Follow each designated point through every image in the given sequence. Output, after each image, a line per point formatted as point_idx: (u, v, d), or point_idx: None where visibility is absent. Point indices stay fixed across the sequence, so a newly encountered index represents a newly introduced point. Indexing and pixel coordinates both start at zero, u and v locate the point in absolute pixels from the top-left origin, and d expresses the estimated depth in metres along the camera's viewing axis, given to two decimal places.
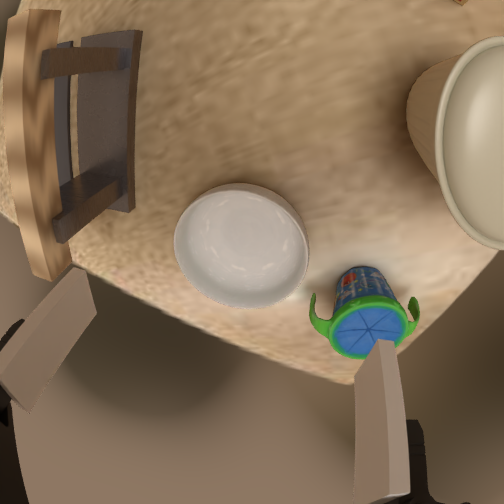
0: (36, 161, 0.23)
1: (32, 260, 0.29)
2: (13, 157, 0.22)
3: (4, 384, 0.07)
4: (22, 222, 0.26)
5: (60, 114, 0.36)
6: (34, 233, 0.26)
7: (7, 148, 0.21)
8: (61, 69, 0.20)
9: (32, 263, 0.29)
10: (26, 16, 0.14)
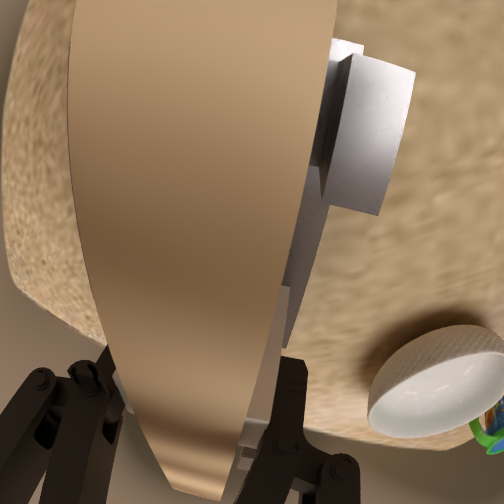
0: None
1: (181, 486, 0.16)
2: (171, 425, 0.08)
3: None
4: (175, 471, 0.13)
5: None
6: (210, 484, 0.13)
7: (137, 402, 0.08)
8: None
9: (179, 487, 0.16)
10: None
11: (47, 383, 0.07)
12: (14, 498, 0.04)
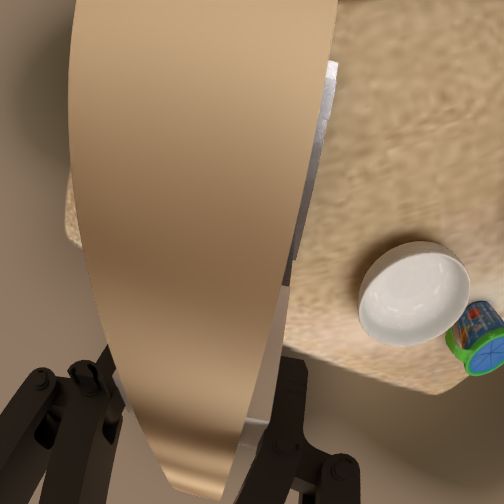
0: None
1: (181, 486, 0.16)
2: (171, 425, 0.08)
3: None
4: (175, 471, 0.13)
5: None
6: (210, 484, 0.13)
7: (137, 402, 0.08)
8: None
9: (179, 487, 0.16)
10: None
11: (47, 383, 0.07)
12: (14, 498, 0.04)
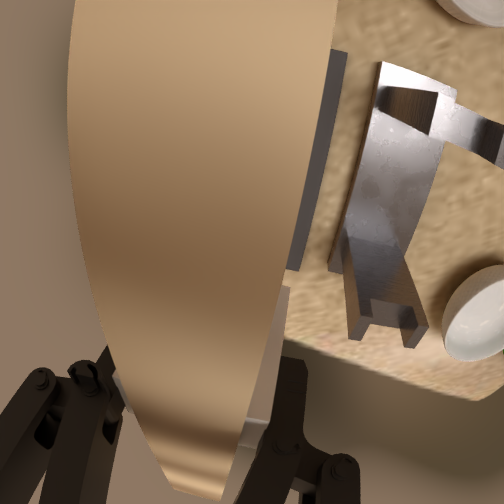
0: None
1: (181, 487, 0.16)
2: (171, 425, 0.08)
3: None
4: (175, 471, 0.13)
5: (313, 150, 0.32)
6: (210, 484, 0.13)
7: (137, 403, 0.08)
8: None
9: (179, 487, 0.16)
10: None
11: (47, 383, 0.07)
12: (14, 498, 0.04)
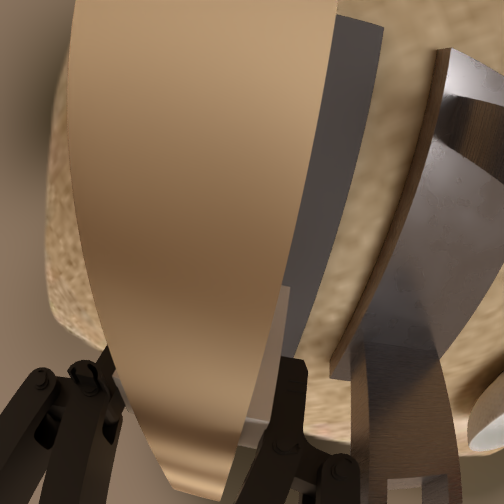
0: None
1: (181, 487, 0.16)
2: (171, 425, 0.08)
3: None
4: (175, 471, 0.13)
5: (316, 210, 0.18)
6: (210, 484, 0.13)
7: (137, 403, 0.08)
8: None
9: (179, 487, 0.16)
10: None
11: (47, 383, 0.07)
12: (14, 498, 0.04)
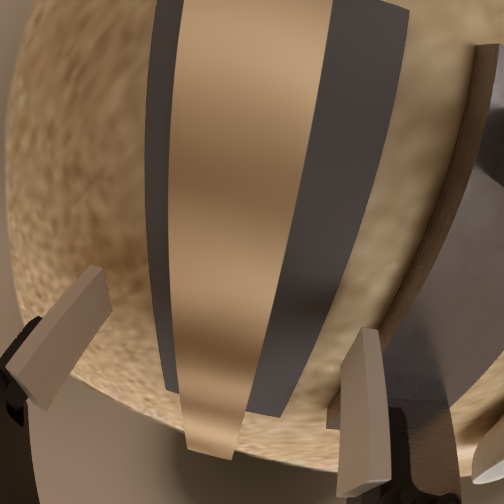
0: None
1: (196, 442, 0.19)
2: (205, 342, 0.12)
3: (22, 382, 0.07)
4: (195, 416, 0.16)
5: (314, 256, 0.14)
6: (226, 430, 0.16)
7: (179, 319, 0.11)
8: None
9: (194, 444, 0.19)
10: None
11: None
12: None
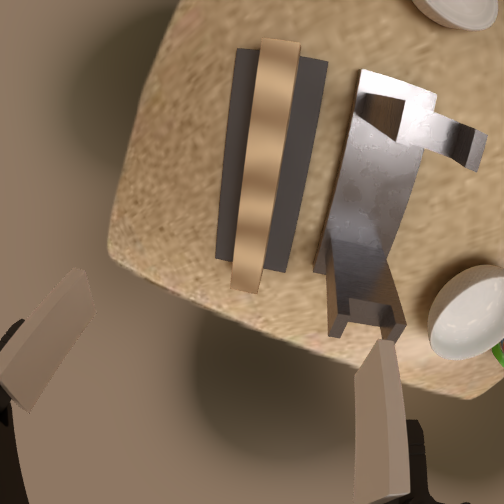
0: None
1: (237, 275, 0.38)
2: (255, 179, 0.31)
3: (4, 384, 0.07)
4: (242, 240, 0.35)
5: (296, 156, 0.34)
6: (258, 250, 0.36)
7: (247, 169, 0.31)
8: None
9: (236, 278, 0.38)
10: (295, 48, 0.23)
11: None
12: None
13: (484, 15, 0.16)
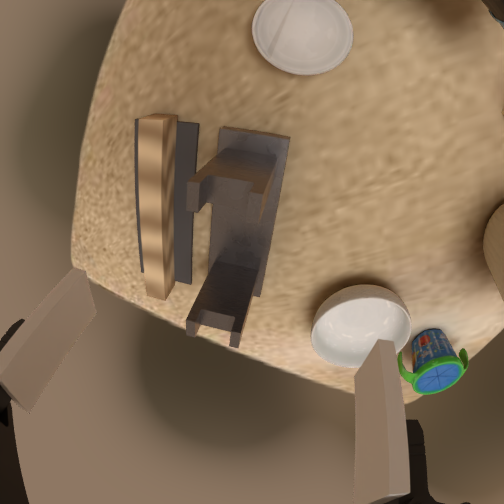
0: (165, 223, 0.44)
1: (149, 286, 0.50)
2: (148, 220, 0.42)
3: (4, 384, 0.07)
4: (147, 262, 0.47)
5: (182, 199, 0.45)
6: (159, 269, 0.47)
7: (141, 213, 0.42)
8: (262, 209, 0.29)
9: (149, 288, 0.50)
10: (160, 125, 0.34)
11: None
12: None
13: (332, 54, 0.27)
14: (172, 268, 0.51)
